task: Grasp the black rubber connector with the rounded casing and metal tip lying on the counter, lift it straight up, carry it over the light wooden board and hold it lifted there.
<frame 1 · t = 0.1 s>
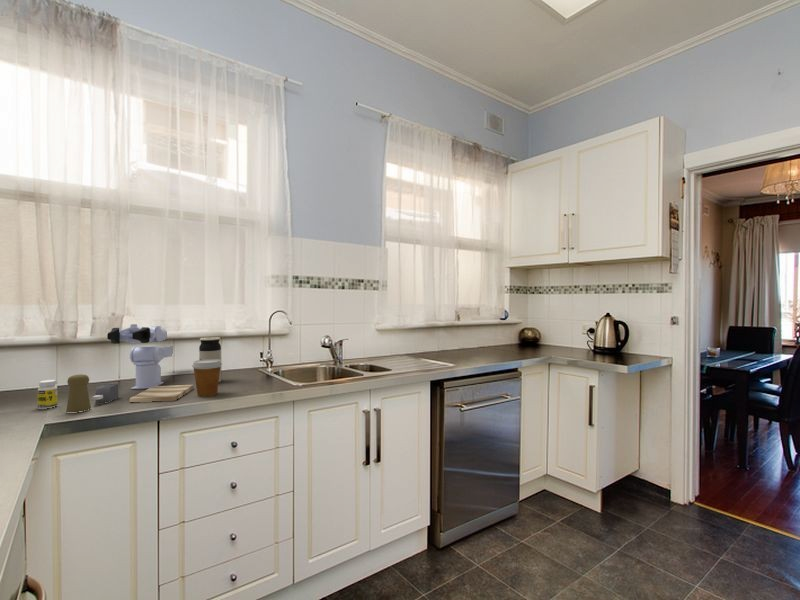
hand: (121, 335, 136), 22 cm above the table, tool horizontal, fingers open, 7 cm apart
travel mug: (210, 382, 163), on the table
connector: (107, 400, 135), on the table
wooden board: (163, 395, 142), on the table
supplement bottle: (47, 408, 127), on the table
cork: (78, 411, 123), on the table
disposable coffee cup: (207, 395, 142), on the table
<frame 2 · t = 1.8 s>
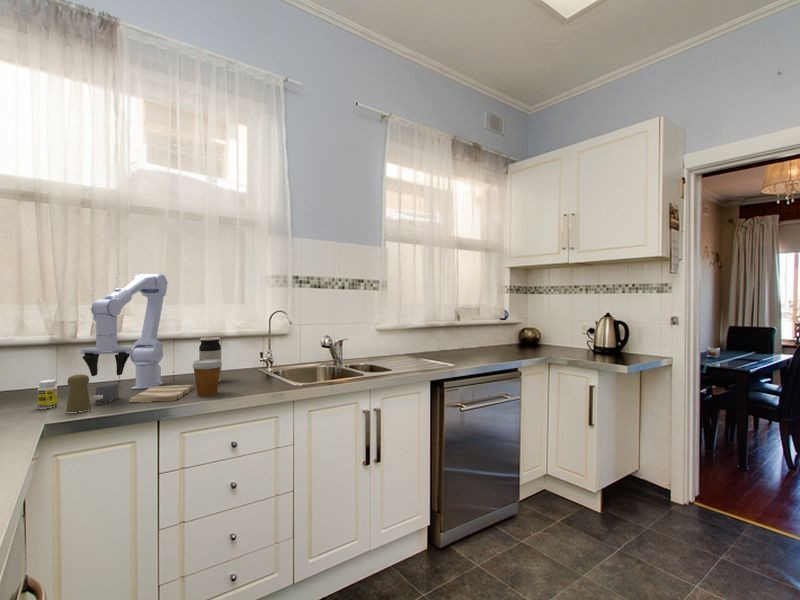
hand: (107, 375, 135), 9 cm above the table, tool pointing down, fingers open, 7 cm apart
nothing on the table moved.
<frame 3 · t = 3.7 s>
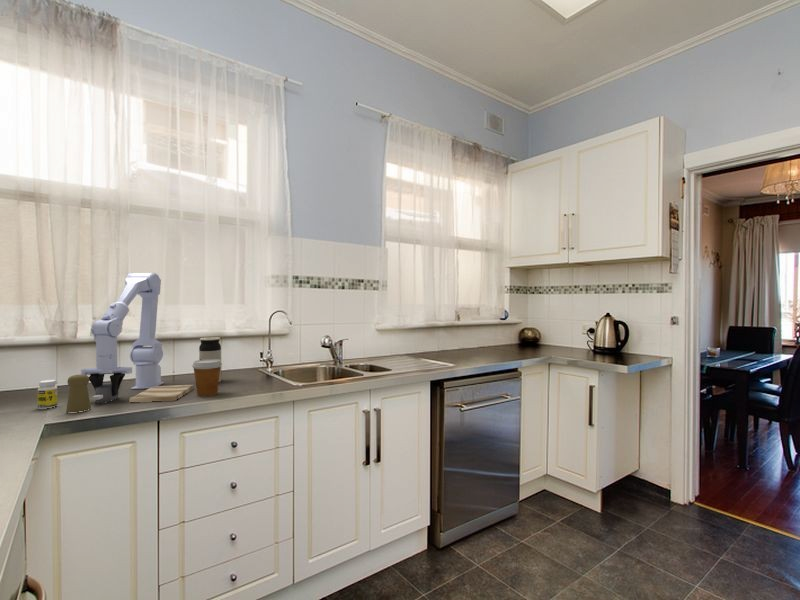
hand: (107, 395, 135), 2 cm above the table, tool pointing down, fingers closed on connector, 4 cm apart
connector: (107, 400, 135), on the table, touching gripper
everything else where it was.
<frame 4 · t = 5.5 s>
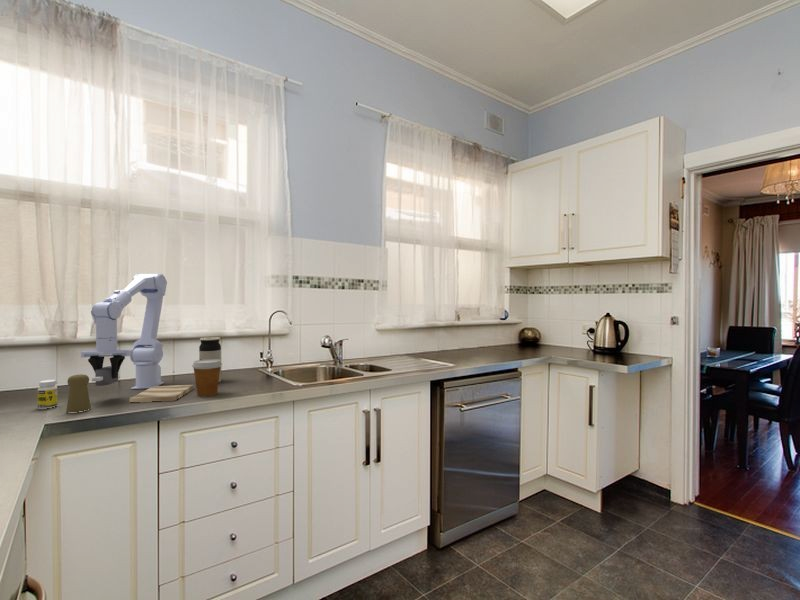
hand: (107, 378, 135), 8 cm above the table, tool pointing down, fingers closed on connector, 4 cm apart
connector: (107, 382, 135), point 6 cm above the table, touching gripper
everything else where it was.
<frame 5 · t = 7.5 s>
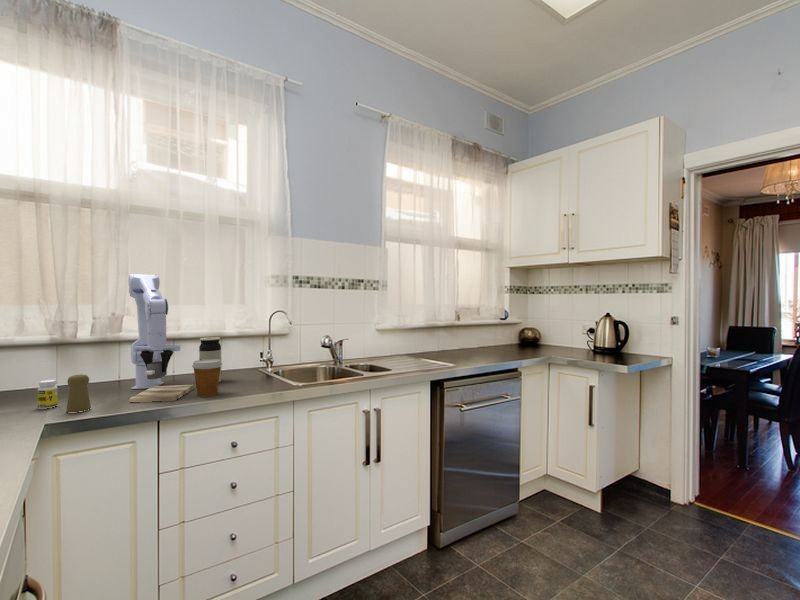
hand: (157, 372, 141), 8 cm above the table, tool pointing down, fingers closed on connector, 4 cm apart
connector: (157, 376, 141), point 7 cm above the table, touching gripper
everything else where it was.
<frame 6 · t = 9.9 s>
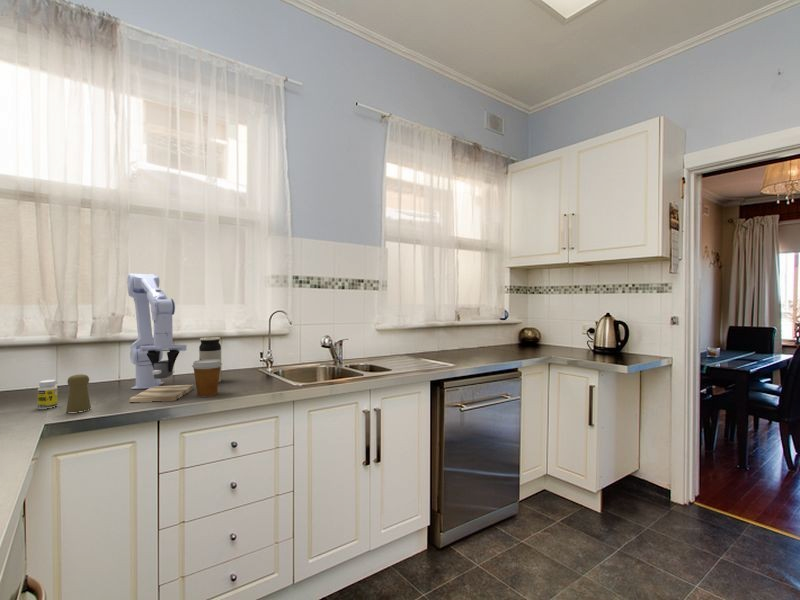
hand: (163, 371, 142), 8 cm above the table, tool pointing down, fingers closed on connector, 4 cm apart
connector: (163, 376, 142), point 7 cm above the table, touching gripper
everything else where it was.
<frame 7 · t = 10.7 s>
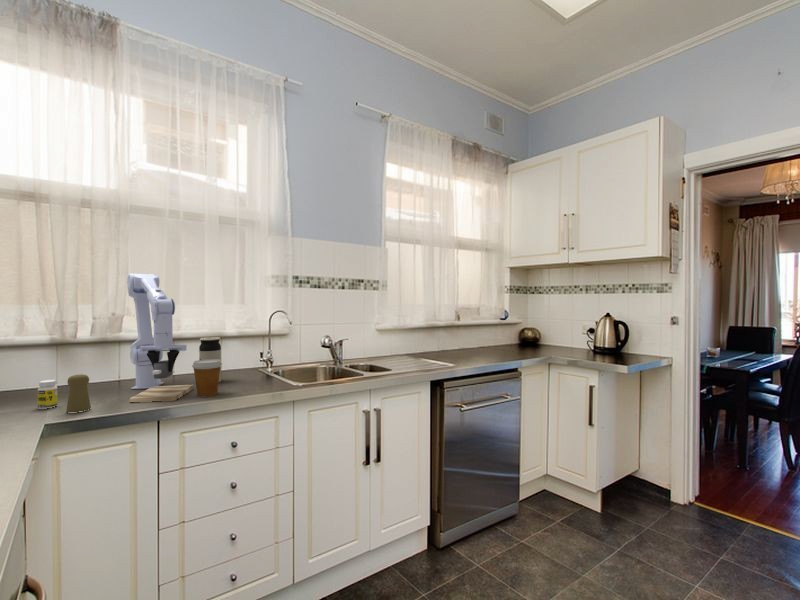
hand: (163, 371, 142), 8 cm above the table, tool pointing down, fingers closed on connector, 4 cm apart
connector: (163, 376, 142), point 7 cm above the table, touching gripper
everything else where it was.
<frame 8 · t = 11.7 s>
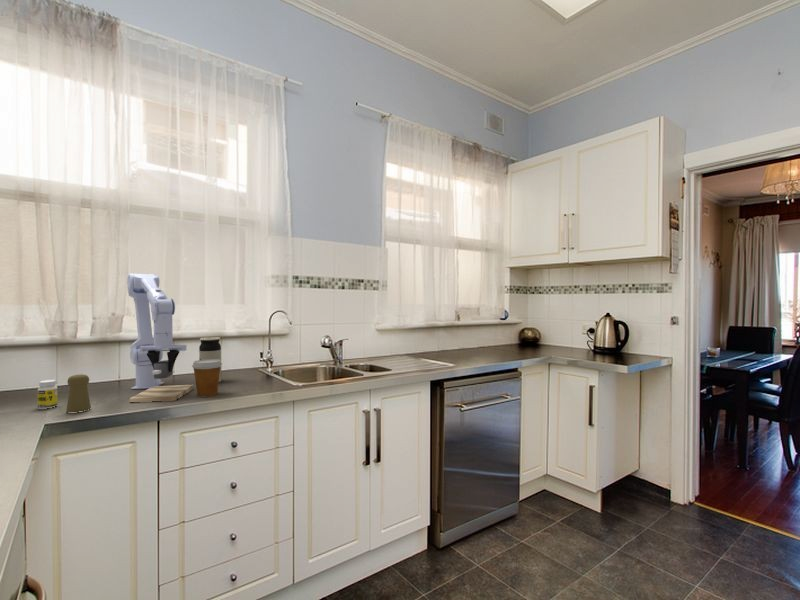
hand: (163, 371, 142), 8 cm above the table, tool pointing down, fingers closed on connector, 4 cm apart
connector: (163, 376, 142), point 7 cm above the table, touching gripper
everything else where it was.
at the end: the gripper is holding connector; connector point 6.8 cm above the table; connector inside the target area (0.0 cm from its centre), point 6.8 cm above the table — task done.
